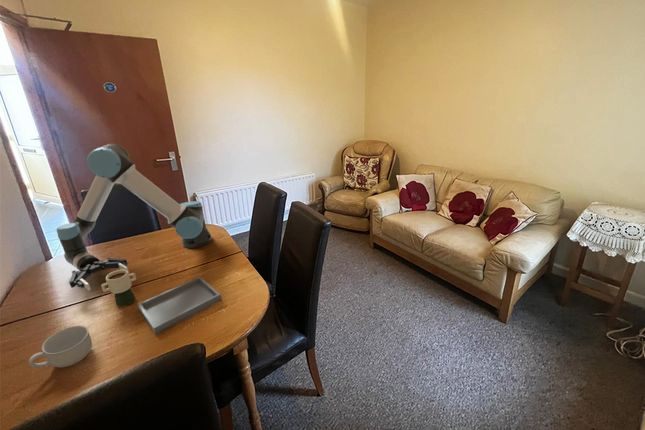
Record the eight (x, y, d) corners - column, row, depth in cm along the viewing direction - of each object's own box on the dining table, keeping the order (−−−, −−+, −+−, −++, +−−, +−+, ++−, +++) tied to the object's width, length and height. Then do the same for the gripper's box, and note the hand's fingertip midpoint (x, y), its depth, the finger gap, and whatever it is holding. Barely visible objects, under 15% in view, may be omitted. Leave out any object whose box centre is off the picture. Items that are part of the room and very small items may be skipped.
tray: (201, 282, 124) (199, 276, 122) (221, 300, 112) (220, 294, 111) (139, 310, 108) (137, 304, 106) (155, 335, 96) (153, 328, 95)
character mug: (139, 292, 118) (130, 265, 113) (144, 299, 113) (135, 272, 108) (107, 305, 111) (97, 277, 106) (112, 314, 106) (101, 284, 101)
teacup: (93, 338, 95) (85, 319, 92) (99, 357, 88) (90, 337, 85) (36, 364, 86) (25, 344, 83) (37, 388, 79) (25, 367, 76)
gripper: (120, 258, 136) (143, 271, 125) (53, 284, 117) (73, 303, 106) (116, 244, 133) (139, 256, 122) (47, 269, 114) (66, 286, 103)
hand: (108, 278), depth 114 cm, fingers open, 13 cm apart
